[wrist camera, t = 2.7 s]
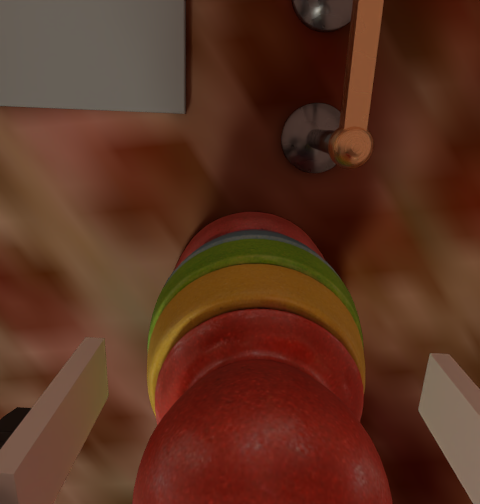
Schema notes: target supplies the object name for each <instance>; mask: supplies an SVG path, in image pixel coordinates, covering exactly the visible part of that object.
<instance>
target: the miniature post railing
mask: <svg viewBox="0 0 480 504" xmlns="http://www.w3.org/2000/svg"><path fill="white" fill-rule="evenodd" d="M383 3H384V0H292V4H293V8H294V10H295V12H296V14H297V16H298V18H299V19H300V20H301V21H302V22H303V23H304V24H305V25H306V26H307V27H309V28H310V29H313V30H315V31H319V32H331V31H335V30H338V29H340V28H342V27H344V26H345V25H347V24H348V23H349V22H350V21H351V23H350V32H349V41H348V50H347V59H346V68H345V78H344V87H343V96H342V105H341V112H340V111H338V110H337V109H336V108H334V107H333V106H330V105H328V104H324V103H312V104H308V105H304V106H302V107H300V108H298V109H297V110H295V111H294V112H293V113H292V114H291V115H290V116H289V118H288V119H287V120H286V122H285V124H284V127H283V130H282V134H281V145H282V149H283V152H284V155H285V156H286V158H287V159H288V161H289V162H290V163H291V164H292V165H293V166H295V167H296V168H298V169H299V170H302V171H304V172H308V173H320V172H324V171H327V170H329V169H331V168H333V167H334V166H335V165H338V166H339V167H342V168H345V169H354V168H357V167H360V166H361V165H363V164H364V163H366V162H367V161H368V159H369V158H370V156H371V154H372V152H373V148H374V141H373V137H372V135H371V133H370V132H369V131H368V129H367V126H368V118H369V111H370V103H371V95H372V88H373V80H374V72H375V65H376V57H377V49H378V42H379V34H380V26H381V19H382V11H383Z"/></svg>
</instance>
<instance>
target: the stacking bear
mask: <svg viewBox="0 0 480 504" xmlns="http://www.w3.org/2000/svg"><path fill="white" fill-rule="evenodd" d="M147 383H148V393H149V398H150V402H151V406H152V409H153V412H154V414H155V417H156V420H157V427H156V429H155V430H154V432H153V434H152V435H151V437H150V439H149V442H148V444H147V446H146V449H145V451H144V454H143V457H142V460H141V463H140V466H139V469H138V473H137V478H136V482H135V487H134V493H133V502H132V504H393V503H392V497H391V492H390V487H389V482H388V479H387V476H386V473H385V470H384V467H383V464H382V461H381V458H380V456H379V454H378V452H377V450H376V448H375V445H374V444H373V442H372V440H371V438H370V436H369V435H368V433H367V432H366V430H365V429H364V427H363V426H362V424H361V423H360V419H361V416H362V411H363V400H364V391H365V359H364V351H363V336H362V330H361V326H360V321H359V317H358V314H357V311H356V308H355V305H354V302H353V300H352V297H351V295H350V293H349V291H348V289H347V288H346V286H345V285H344V283H343V282H342V280H341V278H340V277H339V275H338V274H337V273H336V272H335V270H334V269H333V268H332V267H331V266H330V265H329V264H328V263H327V262H326V261H325V259H324V257H323V255H322V254H321V252H320V251H319V249H318V248H317V246H316V245H315V244H314V242H313V241H312V240H311V238H310V237H309V236H308V235H307V234H306V233H305V232H304V231H303V230H302V229H300V228H299V227H298V226H296V225H295V224H294V223H292V222H290V221H288V220H286V219H284V218H282V217H279V216H276V215H273V214H269V213H263V212H241V213H235V214H231V215H227V216H225V217H222V218H220V219H217V220H215V221H213V222H212V223H210V224H208V225H207V226H205V227H204V228H203V229H202V230H201V231H199V232H198V233H197V234H196V235H195V236H194V237H193V239H192V240H191V241H190V243H189V244H188V245H187V247H186V248H185V250H184V252H183V253H182V255H181V257H180V258H179V261H178V263H177V265H176V267H175V269H174V272H173V273H172V274H171V276H170V277H169V278H168V280H167V282H166V284H165V286H164V287H163V289H162V291H161V293H160V295H159V297H158V300H157V303H156V305H155V308H154V312H153V315H152V319H151V324H150V330H149V336H148V357H147Z"/></svg>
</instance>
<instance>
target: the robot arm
mask: <svg viewBox="0 0 480 504" xmlns="http://www.w3.org/2000/svg"><path fill="white" fill-rule="evenodd" d="M107 398H108V381H107V367H106V352H105V338H88V337H86V338H85V339H84V340H83V342H82V343H81V344H80V345H79V347H78V348H77V349H76V351H75V352H74V353H73V355H72V356H71V357H70V359H69V360H68V361H67V363H66V364H65V365H64V366H63V368H62V369H61V370H60V372H59V373H58V374H57V376H56V377H55V378H54V380H53V381H52V382H51V384H50V385H49V386H48V387H47V389H46V390H45V391H44V393H43V394H42V395H41V397H40V398H39V399H38V401H37V402H36V403H35V405H34V406H33V407H32V408H20V407H17V408H16V409H14V410H13V411H11V412H10V413H8V414H7V415H6V416H4V417H3V418H2V419H1V420H0V504H53V503H54V501H55V499H56V497H57V495H58V493H59V491H60V489H61V487H62V485H63V483H64V481H65V479H66V478H67V476H68V474H69V472H70V470H71V468H72V466H73V464H74V462H75V460H76V458H77V456H78V454H79V452H80V450H81V448H82V446H83V444H84V443H85V441H86V439H87V437H88V435H89V433H90V431H91V429H92V427H93V425H94V423H95V421H96V419H97V417H98V415H99V413H100V411H101V409H102V408H103V406H104V404H105V402H106V400H107ZM418 411H419V413H420V415H421V416H422V418H423V420H424V421H425V423H426V425H427V426H428V428H429V430H430V432H431V433H432V435H433V437H434V438H435V440H436V442H437V443H438V445H439V447H440V448H441V450H442V452H443V454H444V455H445V457H446V459H447V460H448V462H449V464H450V465H451V467H452V469H453V470H454V472H455V474H456V476H457V477H458V479H459V481H460V482H461V484H462V486H463V487H464V489H465V491H466V492H467V494H468V496H469V498H470V499H471V501H472V503H473V504H480V389H479V388H478V387H477V386H476V385H475V383H474V382H473V381H472V380H471V379H470V378H469V377H468V375H467V374H466V373H465V372H464V371H463V370H462V368H461V367H460V366H459V365H458V364H457V363H456V362H455V360H454V359H453V358H452V357H451V356H450V355H449V354H436V353H430V355H429V360H428V365H427V370H426V374H425V379H424V384H423V389H422V394H421V398H420V403H419V408H418Z"/></svg>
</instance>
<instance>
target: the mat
mask: <svg viewBox="0 0 480 504" xmlns="http://www.w3.org/2000/svg"><path fill="white" fill-rule="evenodd" d="M0 106H16V107H40V108H63V109H87V110H110V111H134V112H158V113H181V114H186V0H0Z"/></svg>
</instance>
